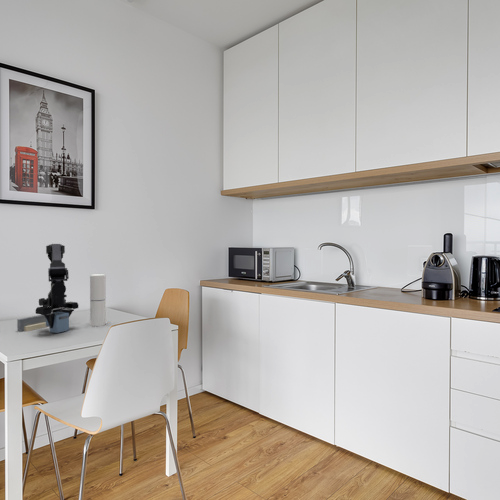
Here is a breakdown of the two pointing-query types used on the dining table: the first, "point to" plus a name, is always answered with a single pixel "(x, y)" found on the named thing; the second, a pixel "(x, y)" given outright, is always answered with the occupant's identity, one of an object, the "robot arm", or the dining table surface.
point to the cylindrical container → (97, 300)
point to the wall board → (31, 323)
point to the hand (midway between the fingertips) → (57, 326)
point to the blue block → (60, 322)
